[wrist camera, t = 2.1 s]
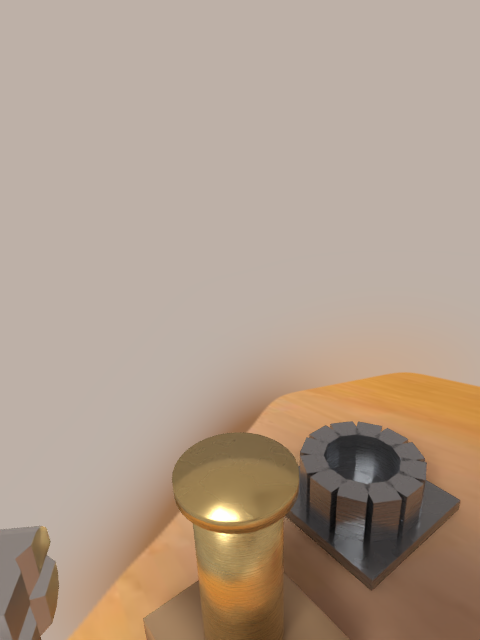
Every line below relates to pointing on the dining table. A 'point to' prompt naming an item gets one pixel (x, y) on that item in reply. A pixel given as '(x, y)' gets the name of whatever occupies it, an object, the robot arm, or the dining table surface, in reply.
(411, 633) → the dining table surface
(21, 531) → the robot arm
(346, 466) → the hub
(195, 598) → the stand
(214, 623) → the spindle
